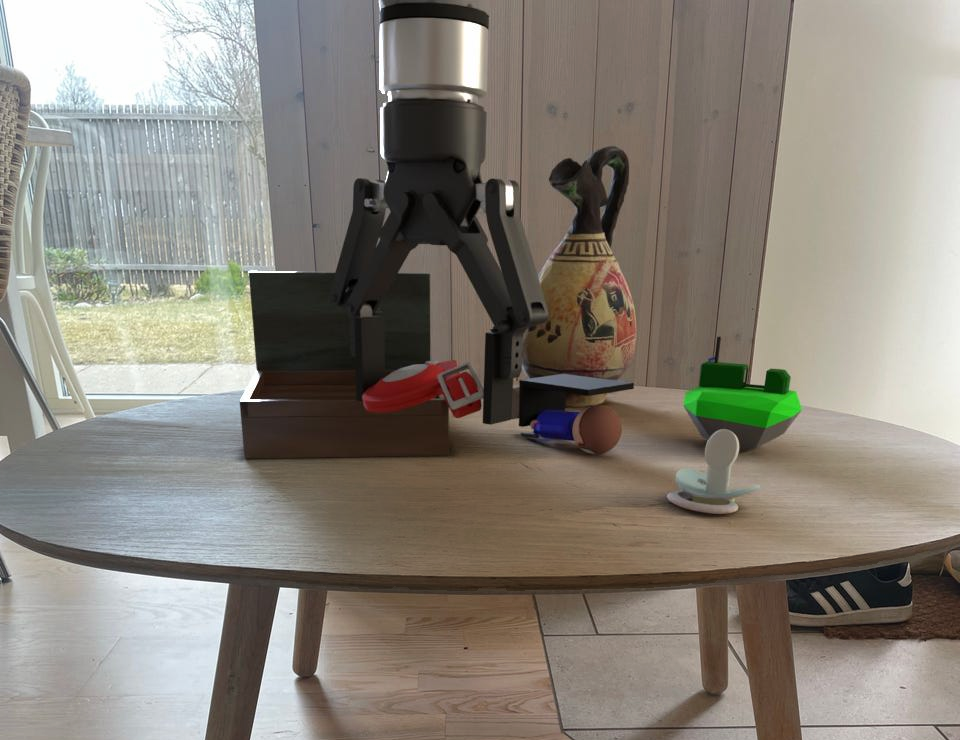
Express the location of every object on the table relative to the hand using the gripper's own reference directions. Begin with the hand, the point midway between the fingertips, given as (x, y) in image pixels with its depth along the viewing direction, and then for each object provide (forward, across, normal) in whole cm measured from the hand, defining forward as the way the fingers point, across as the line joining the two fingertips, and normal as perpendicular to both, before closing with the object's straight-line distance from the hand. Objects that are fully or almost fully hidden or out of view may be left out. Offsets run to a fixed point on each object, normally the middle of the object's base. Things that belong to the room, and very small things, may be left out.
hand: (431, 410), depth 74 cm
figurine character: (+8, +4, -26) cm, 28 cm away
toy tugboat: (+7, -11, -37) cm, 40 cm away
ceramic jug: (+8, +17, -50) cm, 54 cm away
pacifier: (+8, -18, -14) cm, 24 cm away
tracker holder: (0, 0, 0) cm, 1 cm away
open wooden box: (+8, +24, -14) cm, 29 cm away
